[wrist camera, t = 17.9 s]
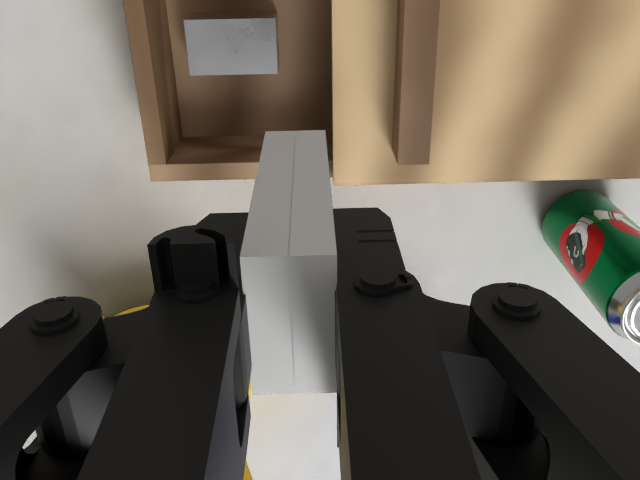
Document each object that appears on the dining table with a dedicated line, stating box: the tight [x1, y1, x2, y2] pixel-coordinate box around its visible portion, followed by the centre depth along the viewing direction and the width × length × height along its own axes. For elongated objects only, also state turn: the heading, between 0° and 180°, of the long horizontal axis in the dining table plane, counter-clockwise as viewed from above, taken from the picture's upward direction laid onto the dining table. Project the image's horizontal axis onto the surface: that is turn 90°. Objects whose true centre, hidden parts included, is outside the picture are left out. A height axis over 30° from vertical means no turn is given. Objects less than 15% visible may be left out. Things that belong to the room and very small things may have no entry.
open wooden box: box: [123, 0, 333, 181], centre depth 35 cm, size 22×14×6 cm, turn 91°
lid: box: [331, 0, 640, 185], centre depth 30 cm, size 22×14×3 cm, turn 91°
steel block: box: [184, 12, 280, 76], centre depth 35 cm, size 5×3×3 cm, turn 91°
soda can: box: [542, 190, 640, 345], centre depth 38 cm, size 5×5×12 cm
